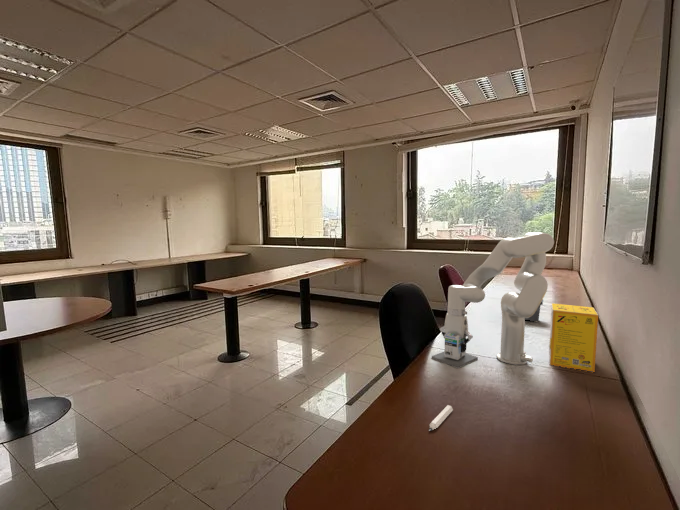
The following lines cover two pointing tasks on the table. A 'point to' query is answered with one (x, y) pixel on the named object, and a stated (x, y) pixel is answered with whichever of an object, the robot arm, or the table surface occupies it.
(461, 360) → the mat
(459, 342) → the light bulb box
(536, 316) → the storage bin
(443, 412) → the marker
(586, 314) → the packaging box
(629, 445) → the table surface
